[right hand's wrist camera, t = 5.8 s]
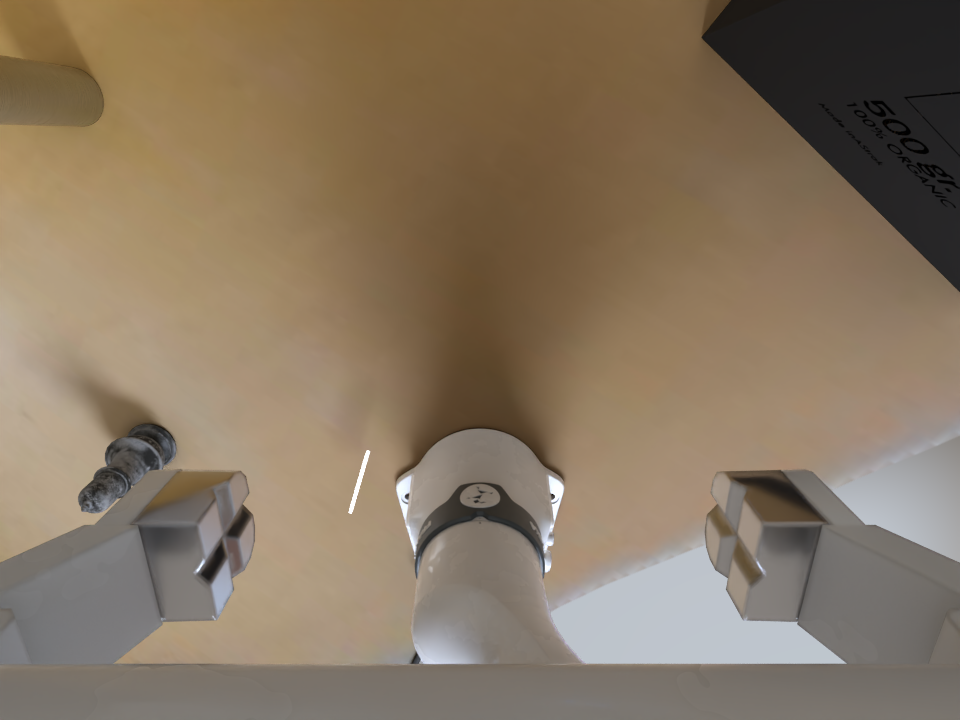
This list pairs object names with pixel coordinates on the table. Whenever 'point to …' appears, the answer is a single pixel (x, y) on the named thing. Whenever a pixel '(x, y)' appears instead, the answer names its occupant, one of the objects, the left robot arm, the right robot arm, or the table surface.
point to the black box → (865, 99)
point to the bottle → (47, 94)
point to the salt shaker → (127, 465)
